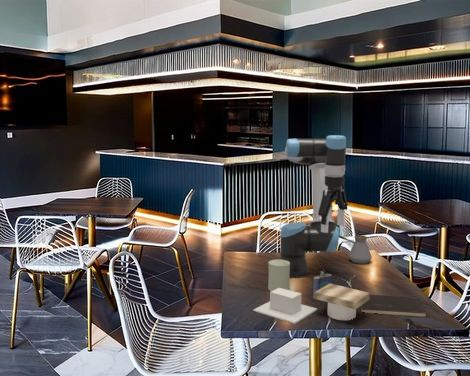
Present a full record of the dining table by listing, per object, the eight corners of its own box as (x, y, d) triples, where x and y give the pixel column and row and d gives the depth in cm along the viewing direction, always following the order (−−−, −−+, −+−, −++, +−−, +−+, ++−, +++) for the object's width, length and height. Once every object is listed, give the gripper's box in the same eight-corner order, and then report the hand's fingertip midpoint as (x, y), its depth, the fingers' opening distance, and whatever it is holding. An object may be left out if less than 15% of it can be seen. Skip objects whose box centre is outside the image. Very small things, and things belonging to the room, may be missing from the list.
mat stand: (253, 311, 177) (253, 293, 176) (277, 298, 189) (277, 282, 188) (294, 324, 165) (294, 305, 164) (317, 310, 178) (317, 292, 177)
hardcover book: (426, 318, 172) (426, 312, 171) (361, 314, 175) (361, 308, 175) (417, 302, 187) (417, 296, 187) (357, 298, 191) (357, 293, 191)
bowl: (322, 315, 173) (323, 299, 172) (335, 307, 181) (335, 292, 180) (347, 322, 167) (348, 306, 166) (359, 313, 174) (360, 298, 174)
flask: (315, 300, 187) (316, 274, 186) (310, 298, 190) (311, 272, 188) (333, 296, 192) (333, 270, 190) (328, 294, 194) (328, 268, 193)
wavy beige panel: (314, 298, 173) (314, 292, 173) (330, 289, 182) (330, 283, 182) (355, 309, 163) (355, 302, 163) (369, 299, 172) (369, 292, 172)
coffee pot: (368, 258, 245) (369, 230, 243) (374, 265, 234) (375, 235, 231) (327, 257, 246) (328, 229, 244) (330, 264, 234) (331, 235, 232)
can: (283, 294, 194) (284, 266, 192) (264, 289, 199) (264, 262, 197) (293, 287, 202) (293, 260, 200) (274, 283, 207) (274, 257, 205)
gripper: (328, 180, 171) (326, 237, 174) (357, 172, 190) (355, 223, 194) (310, 178, 175) (308, 233, 179) (340, 171, 194) (338, 221, 198)
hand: (332, 228), depth 186 cm, fingers open, 13 cm apart
